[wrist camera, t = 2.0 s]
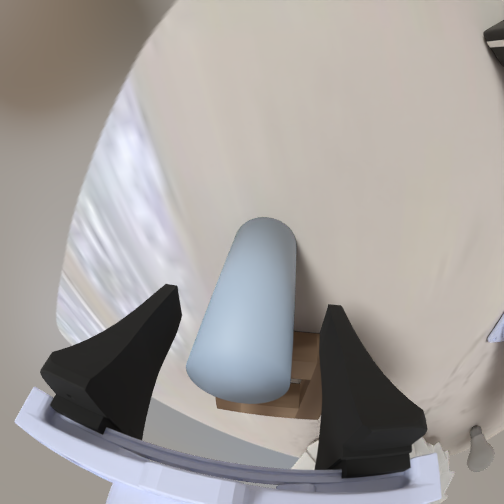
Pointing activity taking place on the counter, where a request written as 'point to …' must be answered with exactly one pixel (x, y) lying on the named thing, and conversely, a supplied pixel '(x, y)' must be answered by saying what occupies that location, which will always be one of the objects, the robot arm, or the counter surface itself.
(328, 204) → the counter surface
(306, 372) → the socket block
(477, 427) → the lightbulb
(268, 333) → the peg
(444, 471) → the spiral staircase
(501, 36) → the battery charger
